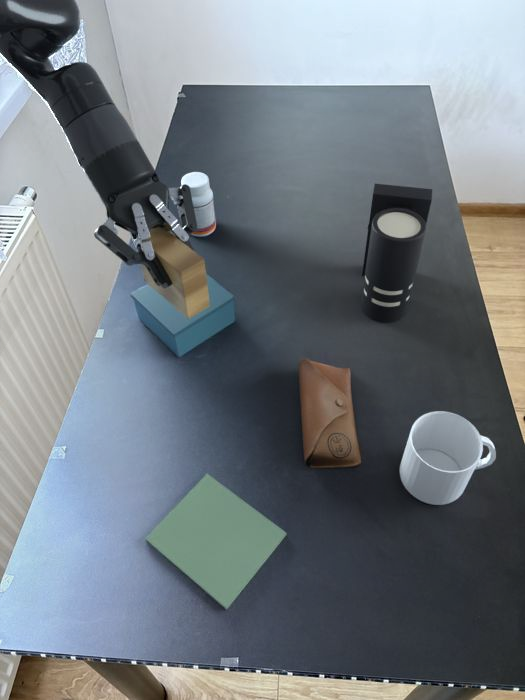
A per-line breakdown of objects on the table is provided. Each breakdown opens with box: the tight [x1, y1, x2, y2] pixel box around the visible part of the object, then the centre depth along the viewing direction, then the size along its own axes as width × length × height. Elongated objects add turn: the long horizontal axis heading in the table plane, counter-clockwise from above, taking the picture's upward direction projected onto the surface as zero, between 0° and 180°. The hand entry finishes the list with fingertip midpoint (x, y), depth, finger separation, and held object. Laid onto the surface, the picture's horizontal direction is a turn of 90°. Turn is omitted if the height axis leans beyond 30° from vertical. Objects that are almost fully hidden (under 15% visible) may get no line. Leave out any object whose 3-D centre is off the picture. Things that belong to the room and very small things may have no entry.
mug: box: [399, 410, 497, 506], centre depth 79 cm, size 12×9×9 cm
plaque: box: [136, 227, 210, 319], centre depth 77 cm, size 10×4×8 cm, turn 42°
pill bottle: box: [180, 171, 217, 238], centre depth 115 cm, size 6×6×11 cm
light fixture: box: [360, 183, 433, 323], centre depth 99 cm, size 10×14×18 cm
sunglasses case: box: [297, 357, 362, 470], centre depth 89 cm, size 18×7×7 cm
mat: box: [145, 473, 288, 610], centre depth 78 cm, size 12×14×1 cm
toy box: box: [130, 273, 236, 358], centre depth 101 cm, size 12×12×6 cm
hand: (181, 278), depth 76 cm, fingers closed on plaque, 3 cm apart
